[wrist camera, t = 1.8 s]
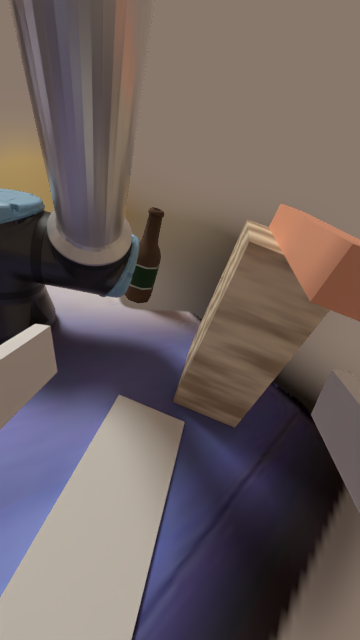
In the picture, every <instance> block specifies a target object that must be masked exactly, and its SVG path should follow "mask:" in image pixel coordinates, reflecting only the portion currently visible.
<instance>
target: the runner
mask: <svg viewBox="0 0 360 640" xmlns="http://www.w3.org/2000/svg"><path fill="white" fill-rule="evenodd" d="M184 423H185V422H184V421H181V420H179V419H176V418H174V417H172V416H169V415H167V414H164V413H162V412H160V411H157V410H155V409H152V408H150V407H148V406H145V405H143V404H141V403H138V402H136V401H133V400H131V399H129V398H126V397H124V396H121V395H119V396H118V397H117V399H116V401H115V402H114V404H113V406H112V408H111V409H110V411H109V413H108V414H107V416H106V418H105V420H104V421H103V423H102V425H101V426H100V428H99V430H98V431H97V433H96V435H95V437H94V438H93V440H92V442H91V443H90V445H89V447H88V449H87V450H86V452H85V454H84V455H83V457H82V459H81V461H80V462H79V464H78V466H77V467H76V469H75V471H74V472H73V474H72V476H71V478H70V479H69V481H68V483H67V484H66V486H65V488H64V490H63V491H62V493H61V495H60V496H59V498H58V500H57V502H56V503H55V505H54V507H53V508H52V510H51V512H50V513H49V515H48V517H47V519H46V520H45V522H44V524H43V525H42V527H41V529H40V531H39V532H38V534H37V536H36V537H35V539H34V541H33V543H32V544H31V546H30V548H29V549H28V551H27V553H26V555H25V556H24V558H23V560H22V561H21V563H20V565H19V566H18V568H17V570H16V572H15V573H14V575H13V577H12V578H11V580H10V582H9V584H8V585H7V587H6V589H5V590H4V592H3V594H2V596H1V597H0V640H131V639H132V635H133V631H134V627H135V623H136V619H137V615H138V611H139V607H140V603H141V598H142V594H143V590H144V586H145V582H146V578H147V574H148V570H149V566H150V562H151V558H152V554H153V549H154V545H155V541H156V537H157V533H158V529H159V525H160V521H161V517H162V513H163V509H164V505H165V500H166V496H167V492H168V488H169V484H170V480H171V476H172V472H173V468H174V464H175V460H176V456H177V451H178V447H179V443H180V439H181V435H182V431H183V427H184Z"/></svg>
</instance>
